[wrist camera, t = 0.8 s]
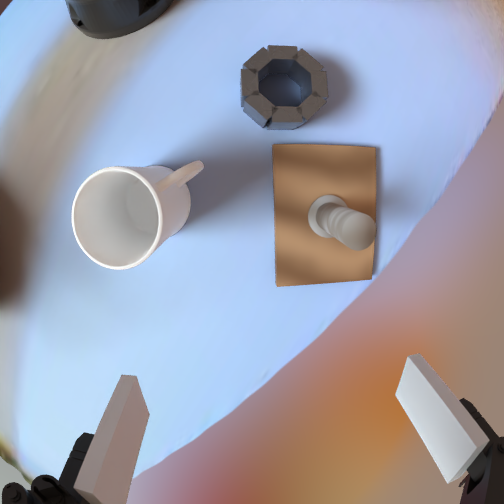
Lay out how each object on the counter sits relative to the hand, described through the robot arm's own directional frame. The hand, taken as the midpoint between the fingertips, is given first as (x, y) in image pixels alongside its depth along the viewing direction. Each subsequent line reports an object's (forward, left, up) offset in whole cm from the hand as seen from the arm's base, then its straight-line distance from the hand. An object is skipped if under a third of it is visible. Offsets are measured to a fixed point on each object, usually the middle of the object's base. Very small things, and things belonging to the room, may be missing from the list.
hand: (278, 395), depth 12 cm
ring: (-19, +4, -23) cm, 30 cm away
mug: (-8, -9, -23) cm, 26 cm away
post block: (-5, +9, -23) cm, 25 cm away
